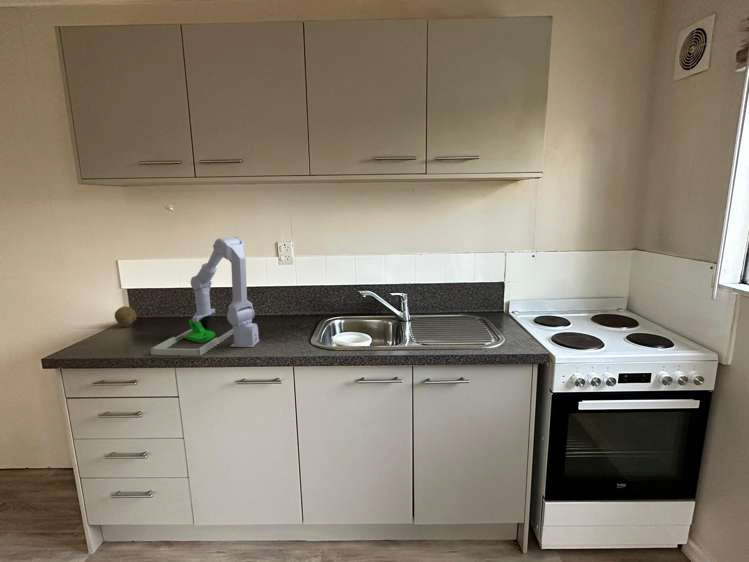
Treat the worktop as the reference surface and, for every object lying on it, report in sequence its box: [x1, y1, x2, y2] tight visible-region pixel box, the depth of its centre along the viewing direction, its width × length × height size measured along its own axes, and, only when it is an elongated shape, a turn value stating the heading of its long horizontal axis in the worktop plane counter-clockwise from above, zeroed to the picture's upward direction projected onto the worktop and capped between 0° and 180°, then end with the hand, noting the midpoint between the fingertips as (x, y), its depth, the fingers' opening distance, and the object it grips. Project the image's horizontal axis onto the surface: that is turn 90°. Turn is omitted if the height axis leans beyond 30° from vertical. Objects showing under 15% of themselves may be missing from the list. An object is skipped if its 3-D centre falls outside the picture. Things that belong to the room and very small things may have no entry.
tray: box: [150, 336, 220, 357], centre depth 162 cm, size 20×14×2 cm
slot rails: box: [174, 328, 233, 344], centre depth 178 cm, size 20×20×2 cm
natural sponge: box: [114, 306, 138, 328], centre depth 195 cm, size 9×9×10 cm
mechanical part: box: [185, 317, 216, 344], centre depth 171 cm, size 12×6×8 cm, turn 59°
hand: (206, 333), depth 177 cm, fingers closed
